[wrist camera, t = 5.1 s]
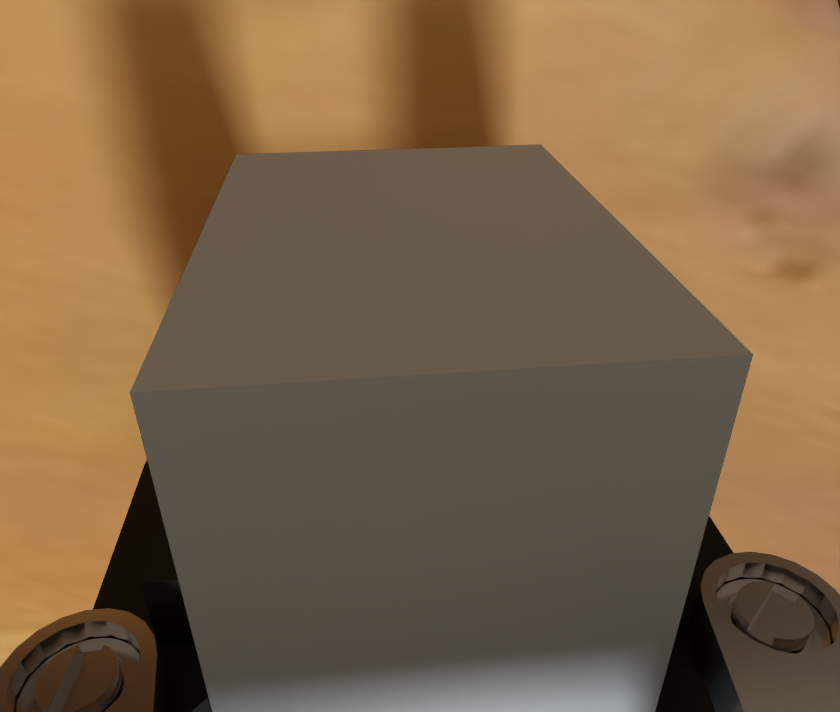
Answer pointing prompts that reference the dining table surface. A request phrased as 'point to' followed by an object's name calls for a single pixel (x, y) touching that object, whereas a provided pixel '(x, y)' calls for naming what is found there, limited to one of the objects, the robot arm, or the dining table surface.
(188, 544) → the rail
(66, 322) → the dining table surface
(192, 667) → the robot arm
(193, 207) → the dining table surface
